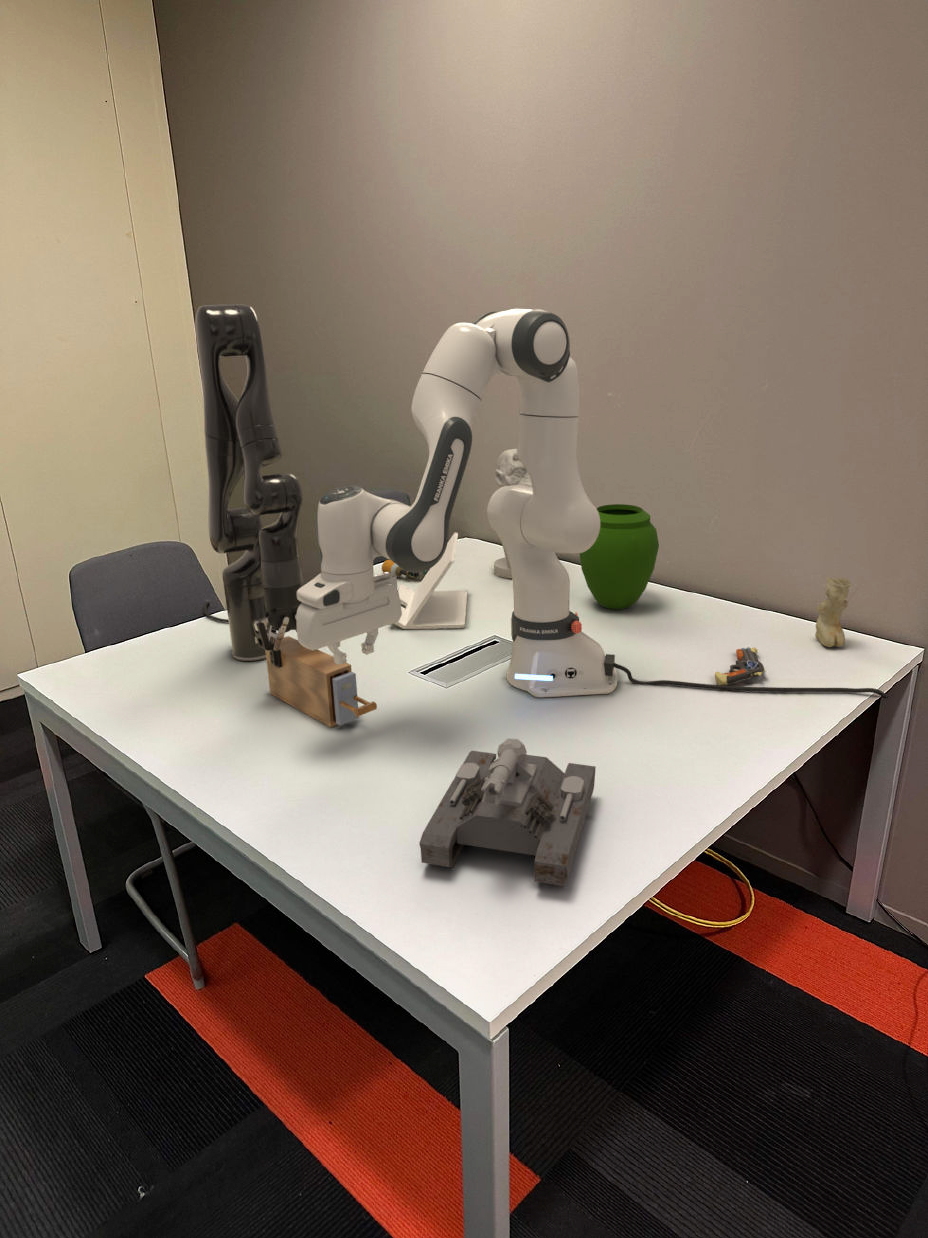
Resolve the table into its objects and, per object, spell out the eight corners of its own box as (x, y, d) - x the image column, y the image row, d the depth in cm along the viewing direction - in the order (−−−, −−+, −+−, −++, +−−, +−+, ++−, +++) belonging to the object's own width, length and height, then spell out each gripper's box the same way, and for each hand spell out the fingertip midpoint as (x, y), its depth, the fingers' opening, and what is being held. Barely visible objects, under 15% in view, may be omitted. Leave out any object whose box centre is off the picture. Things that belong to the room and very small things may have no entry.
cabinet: (355, 717, 161) (351, 664, 157) (330, 727, 157) (326, 673, 153) (293, 685, 175) (288, 635, 171) (270, 693, 171) (264, 643, 168)
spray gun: (401, 563, 255) (446, 570, 249) (372, 576, 240) (419, 584, 235) (401, 549, 254) (446, 556, 248) (372, 561, 239) (419, 569, 233)
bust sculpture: (503, 593, 225) (502, 460, 212) (483, 567, 247) (480, 445, 234) (562, 587, 228) (563, 456, 215) (536, 562, 250) (536, 441, 237)
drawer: (379, 728, 155) (376, 682, 151) (359, 736, 152) (356, 690, 148) (299, 686, 172) (295, 645, 169) (281, 693, 169) (276, 651, 166)
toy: (472, 777, 139) (469, 694, 134) (595, 793, 134) (597, 707, 128) (420, 872, 116) (414, 776, 111) (565, 897, 111) (567, 797, 106)
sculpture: (821, 649, 184) (830, 583, 179) (808, 637, 191) (816, 573, 185) (848, 649, 184) (858, 582, 179) (834, 636, 191) (843, 572, 185)
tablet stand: (467, 593, 225) (465, 531, 219) (465, 628, 202) (462, 559, 196) (399, 594, 226) (395, 532, 220) (388, 629, 203) (384, 560, 197)
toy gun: (716, 676, 167) (770, 673, 165) (708, 646, 185) (756, 643, 183) (717, 689, 168) (770, 686, 165) (708, 658, 185) (757, 655, 183)
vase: (599, 587, 227) (601, 497, 218) (668, 600, 216) (673, 505, 208) (562, 608, 212) (564, 513, 204) (634, 623, 202) (639, 523, 193)
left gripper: (303, 567, 168) (311, 646, 174) (238, 584, 159) (249, 667, 165) (325, 575, 163) (332, 656, 169) (259, 593, 154) (269, 678, 160)
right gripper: (384, 566, 154) (389, 637, 159) (287, 593, 141) (296, 670, 146) (407, 573, 150) (411, 645, 155) (309, 602, 137) (317, 680, 142)
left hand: (291, 661), depth 167 cm, fingers closed on cabinet, 5 cm apart
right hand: (354, 657), depth 150 cm, fingers open, 5 cm apart
